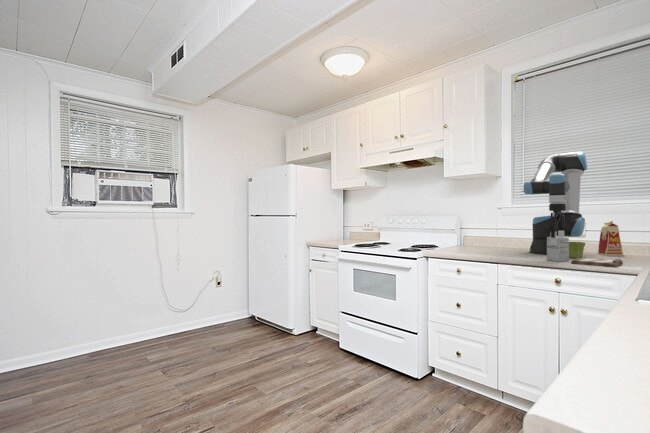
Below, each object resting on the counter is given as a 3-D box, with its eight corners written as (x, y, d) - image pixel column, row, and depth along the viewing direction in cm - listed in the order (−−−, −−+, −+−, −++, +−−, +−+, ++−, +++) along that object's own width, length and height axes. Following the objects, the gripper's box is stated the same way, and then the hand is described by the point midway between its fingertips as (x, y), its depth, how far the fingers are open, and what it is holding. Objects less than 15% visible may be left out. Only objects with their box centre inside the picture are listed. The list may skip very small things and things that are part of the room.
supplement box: (546, 260, 195) (546, 236, 195) (556, 259, 197) (556, 236, 197) (558, 261, 188) (558, 237, 188) (569, 261, 190) (569, 237, 190)
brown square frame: (571, 263, 182) (571, 258, 182) (579, 260, 192) (579, 255, 192) (616, 267, 168) (616, 262, 168) (622, 263, 178) (622, 258, 178)
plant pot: (578, 256, 207) (578, 241, 206) (590, 258, 197) (590, 242, 197) (561, 256, 207) (561, 241, 206) (573, 259, 197) (573, 243, 197)
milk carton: (623, 255, 206) (623, 221, 205) (605, 255, 208) (605, 221, 207) (614, 253, 215) (614, 220, 214) (596, 253, 216) (596, 220, 216)
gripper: (558, 202, 181) (558, 245, 181) (572, 203, 198) (572, 242, 198) (541, 203, 187) (541, 244, 187) (556, 204, 203) (556, 241, 203)
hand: (557, 243), depth 192 cm, fingers open, 13 cm apart
